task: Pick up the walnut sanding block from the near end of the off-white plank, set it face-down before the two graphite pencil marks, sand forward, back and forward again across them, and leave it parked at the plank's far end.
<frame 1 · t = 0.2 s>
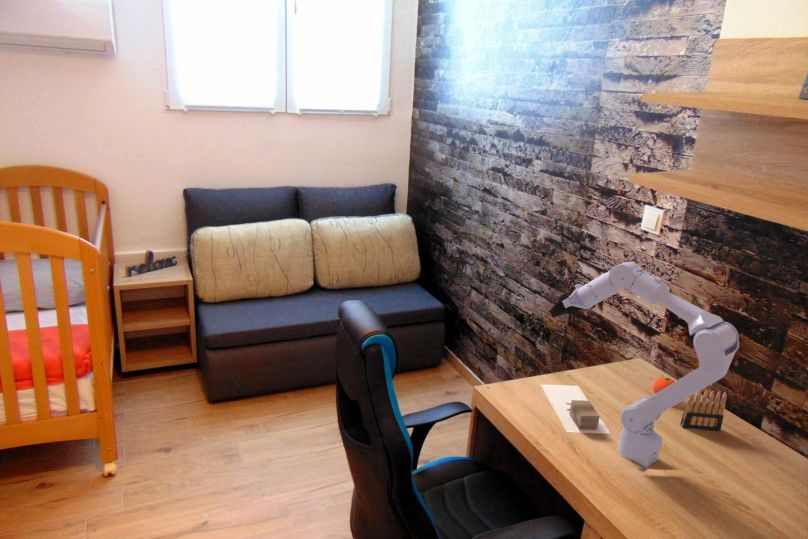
hand: (560, 311, 166), 31 cm above the table, tool tilted 45°, fingers open, 7 cm apart
sanding block: (582, 422, 168), point 1 cm above the table, touching plank
plank: (572, 410, 176), on the table
clementine: (662, 397, 188), on the table
ammunition clip: (699, 428, 172), on the table
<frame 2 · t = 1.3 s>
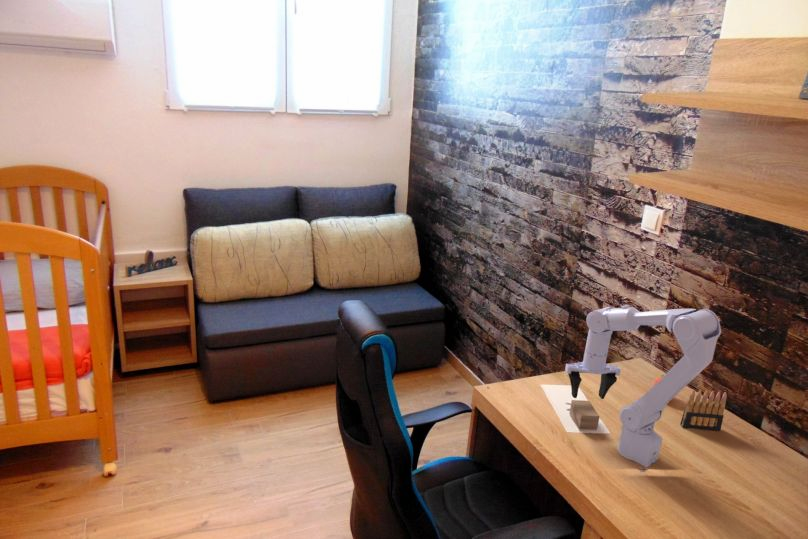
hand: (587, 396, 165), 9 cm above the table, tool pointing down, fingers open, 7 cm apart
nothing on the table moved.
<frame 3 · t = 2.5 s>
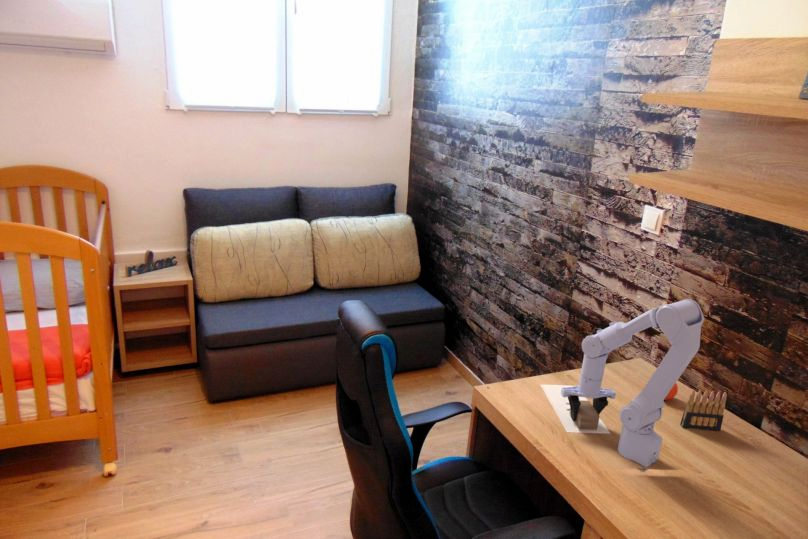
hand: (583, 419, 167), 2 cm above the table, tool pointing down, fingers closed on sanding block, 5 cm apart
sanding block: (582, 422, 168), point 1 cm above the table, touching gripper, plank
everything else where it was.
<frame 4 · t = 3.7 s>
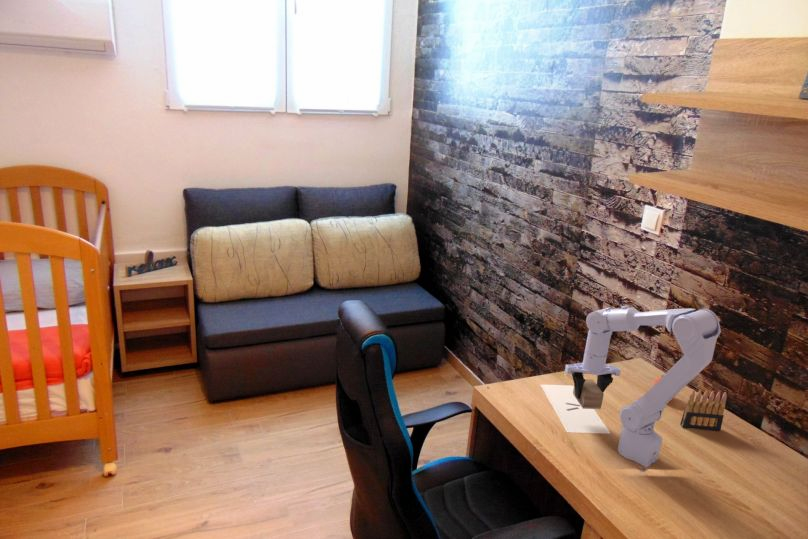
hand: (587, 397, 165), 9 cm above the table, tool pointing down, fingers closed on sanding block, 5 cm apart
sanding block: (586, 401, 166), point 8 cm above the table, touching gripper
everything else where it was.
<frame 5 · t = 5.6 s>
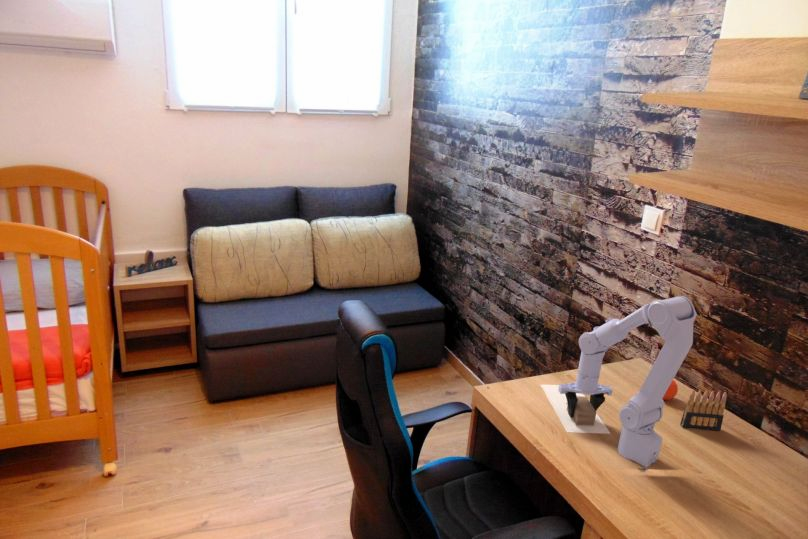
hand: (580, 416, 169), 2 cm above the table, tool pointing down, fingers closed on sanding block, 5 cm apart
sanding block: (579, 418, 170), point 1 cm above the table, touching gripper, plank
everything else where it was.
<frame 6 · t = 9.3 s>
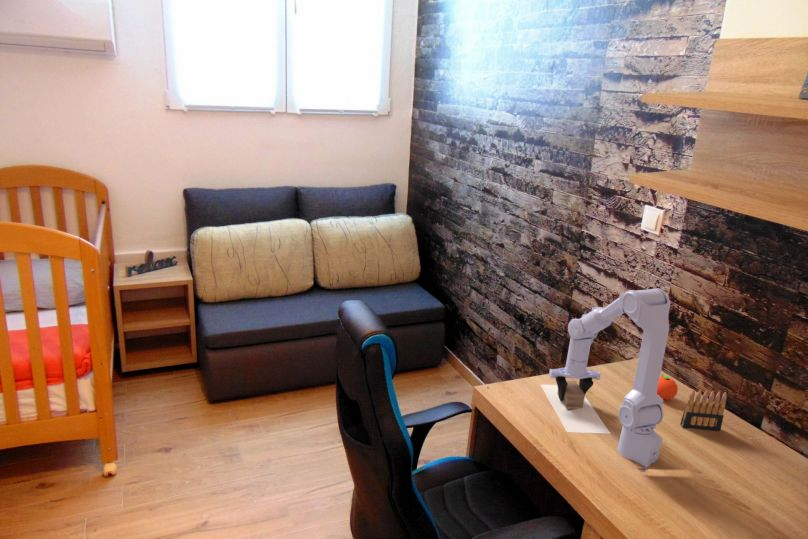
hand: (570, 399, 178), 2 cm above the table, tool pointing down, fingers closed on sanding block, 5 cm apart
sanding block: (569, 401, 178), point 1 cm above the table, touching gripper
everything else where it was.
when the fingers open (2 cm above the table, at t = 12.9 s): sanding block stays where it is, resting on plank.
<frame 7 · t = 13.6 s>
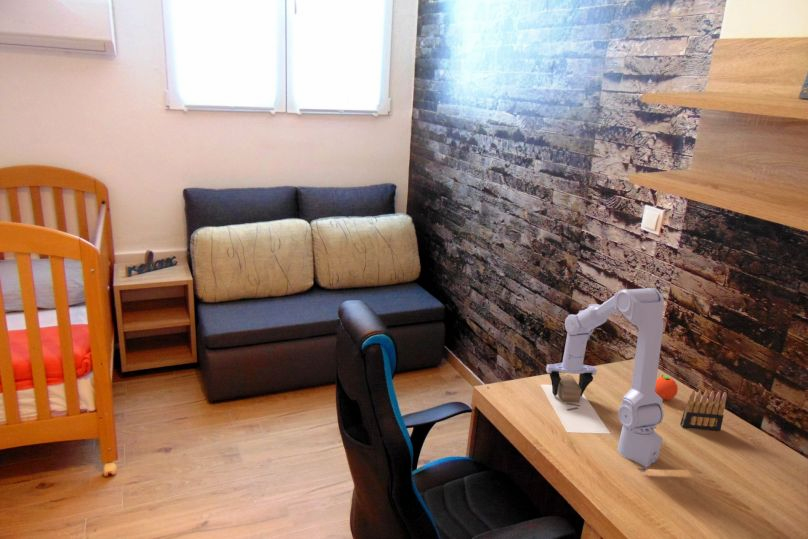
hand: (566, 394, 181), 2 cm above the table, tool pointing down, fingers open, 7 cm apart
sanding block: (566, 396, 181), point 1 cm above the table, touching plank
everything else where it was.
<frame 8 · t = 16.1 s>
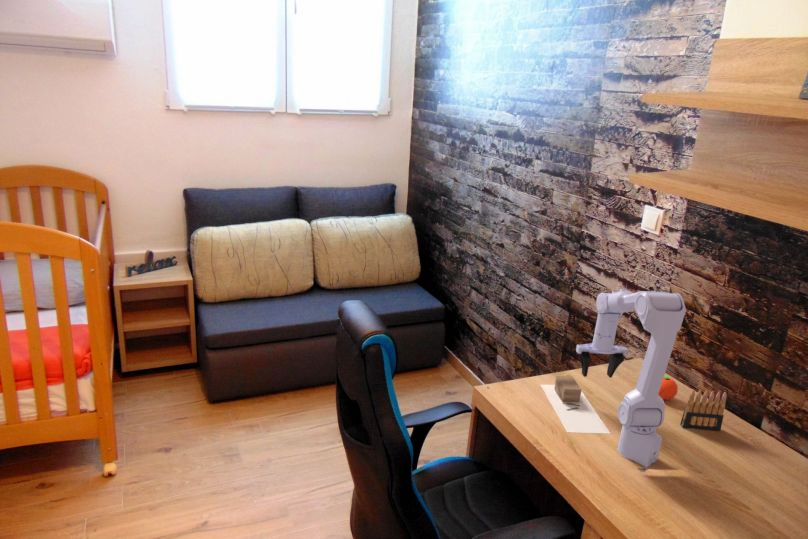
hand: (596, 375, 177), 9 cm above the table, tool pointing down, fingers open, 7 cm apart
nothing on the table moved.
at the end: sanding block 0.5 cm from the target spot on the plank, point 1.2 cm above the plank's base; sanding block tilted 0°; the gripper is holding nothing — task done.
